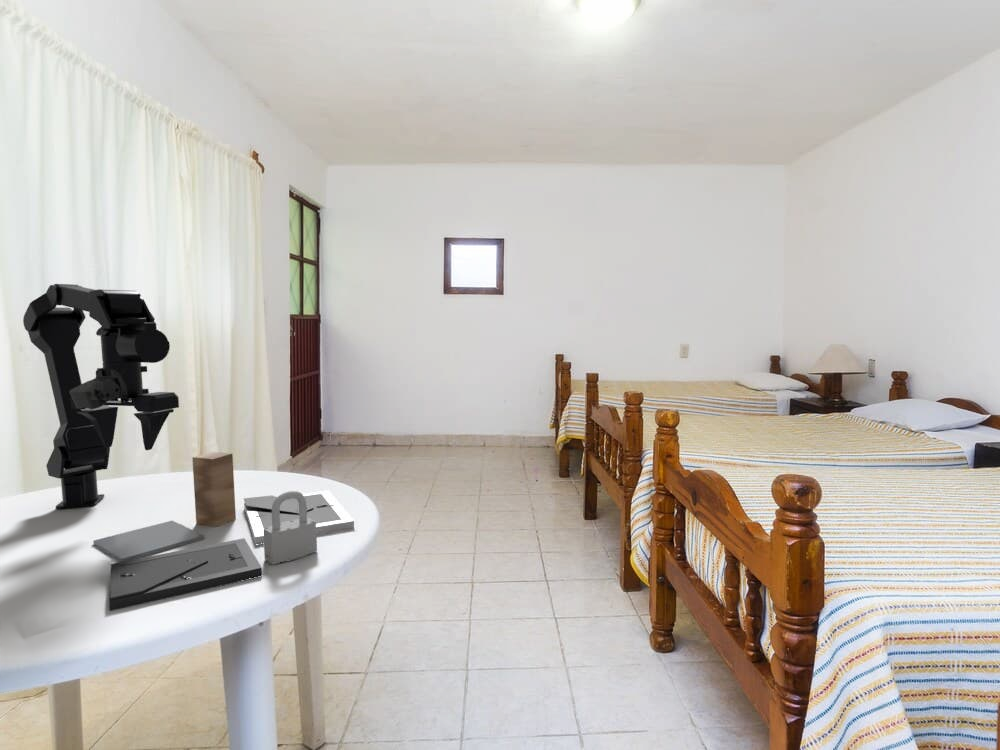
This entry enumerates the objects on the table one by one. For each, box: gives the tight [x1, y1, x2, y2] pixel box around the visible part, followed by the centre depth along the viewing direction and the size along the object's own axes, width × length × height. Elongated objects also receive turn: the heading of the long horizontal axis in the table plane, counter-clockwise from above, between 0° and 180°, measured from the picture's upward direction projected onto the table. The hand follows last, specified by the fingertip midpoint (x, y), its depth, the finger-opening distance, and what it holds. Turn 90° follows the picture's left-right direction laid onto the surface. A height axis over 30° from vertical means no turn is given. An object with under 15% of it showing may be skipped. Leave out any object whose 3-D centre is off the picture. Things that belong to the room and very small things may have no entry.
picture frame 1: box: [108, 537, 263, 612], centre depth 83 cm, size 13×2×18 cm
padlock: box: [263, 490, 318, 565], centre depth 89 cm, size 7×4×10 cm, turn 134°
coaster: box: [92, 520, 205, 562], centre depth 96 cm, size 12×12×1 cm
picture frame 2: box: [243, 490, 355, 545], centre depth 107 cm, size 16×3×21 cm
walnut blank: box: [192, 451, 237, 528], centre depth 105 cm, size 4×4×12 cm
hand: (128, 448), depth 106 cm, fingers open, 9 cm apart
